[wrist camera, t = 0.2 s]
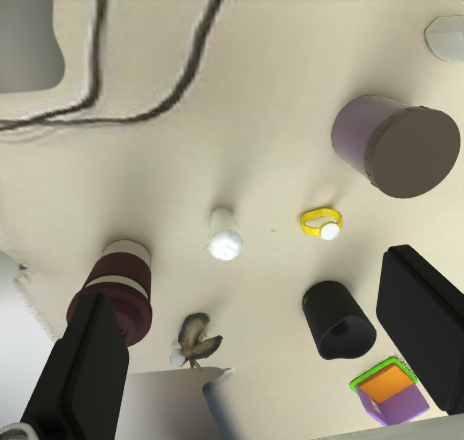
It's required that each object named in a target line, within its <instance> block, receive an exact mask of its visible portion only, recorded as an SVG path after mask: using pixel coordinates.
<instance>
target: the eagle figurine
mask: <svg viewBox="0 0 464 440" xmlns="http://www.w3.org/2000/svg"><path fill="white" fill-rule="evenodd" d="M209 321H210V319H209V317H208V316H207V314H204V313H201V314H200V313H198V314H196V315H195V314H194V315H193V316H190V317H188V319H186V321H185V322H184V325H183V327H182V330H181V332H180V333H179V336H178V341H179V343H180V345H181V348H182V349H173V351H172V353H171V356H170V360H171V363H172V365H174V366H177V367H180V366H181V367H182V366H183V365H184V364H185V363H186V362H187V361H188V360H189V361H190V365H191V369H193V368H194V365H195V366H196V367H197V368H198V369H199V370H200V372H201V373H202V374H203V370H202V368H201V367H200V365H199V364H198V363H197V362H196V359H198V360H199V359H201V358H202V359H203V358H207V357H209V355H211V354H213V353H214V352H215V351H216V350H217V349H218V347H219V346H220V344H221V342H222V339H223V337H222V336H220V335H219V336H217V337H214V338H210V339H207V340H206V337H207V336H203V337H201V338H200V339H199V340H198V338H199V335H200V334H201V332H202V330H203V329H204V328H205V326H206V325H207V324H208V323H209Z"/></svg>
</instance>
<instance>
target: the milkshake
mask: <svg viewBox="0 0 464 440" xmlns="http://www.w3.org/2000/svg"><path fill="white" fill-rule="evenodd" d="M208 244H209V245H208ZM207 245H208V247H209V251H210V253H211V254H212V255H213V256H214V257H215V258H217V259H220V260H232V259H233V258H235V257H236V256H238V255H239V254H240V252H241V251H242V248H243V240H242V237H241V235H240V233H239V231H238V229H237V227H236V224H235V222H234V219H233V217H232V215H231V213H230V212H229V211H228V209H224V208H218V209H215V210H214V211H213V212H212V213H211V215H210V234H209V242H208V243H207V244H206V245H205V247H206V246H207ZM205 247H204V249H205Z"/></svg>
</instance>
